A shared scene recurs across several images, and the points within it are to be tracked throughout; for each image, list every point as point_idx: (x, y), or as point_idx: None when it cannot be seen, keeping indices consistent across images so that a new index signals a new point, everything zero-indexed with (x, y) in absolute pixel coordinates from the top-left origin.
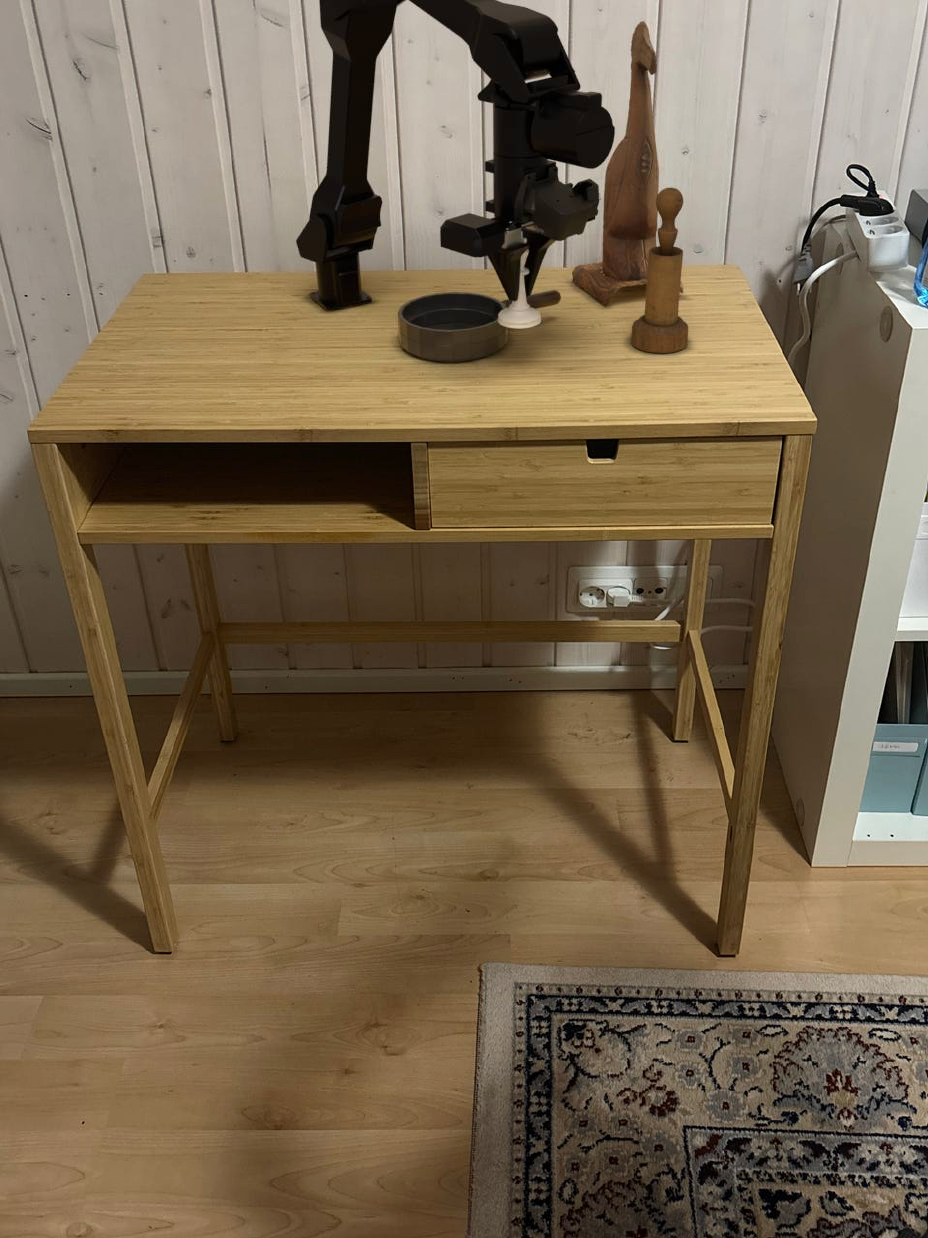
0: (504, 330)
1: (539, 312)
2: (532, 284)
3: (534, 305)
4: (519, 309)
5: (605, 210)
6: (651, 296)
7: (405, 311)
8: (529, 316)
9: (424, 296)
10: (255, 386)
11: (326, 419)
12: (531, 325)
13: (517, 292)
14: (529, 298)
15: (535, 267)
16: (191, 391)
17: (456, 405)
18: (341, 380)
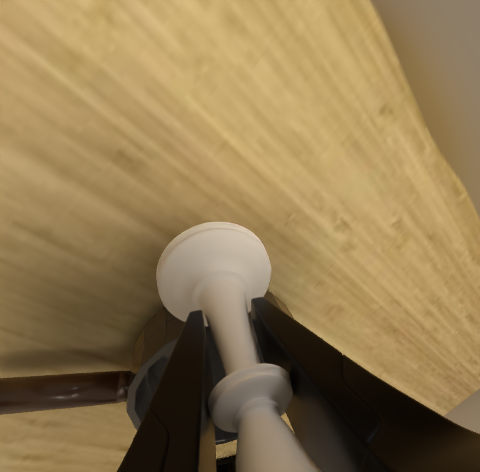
0: (170, 320)
1: (167, 262)
2: (190, 336)
3: (51, 379)
4: (241, 276)
5: None
6: None
7: None
8: (221, 246)
9: (221, 441)
10: (431, 337)
11: (469, 239)
12: (222, 223)
13: (266, 311)
14: (55, 397)
15: (193, 398)
16: (459, 350)
17: (370, 170)
18: (383, 313)
